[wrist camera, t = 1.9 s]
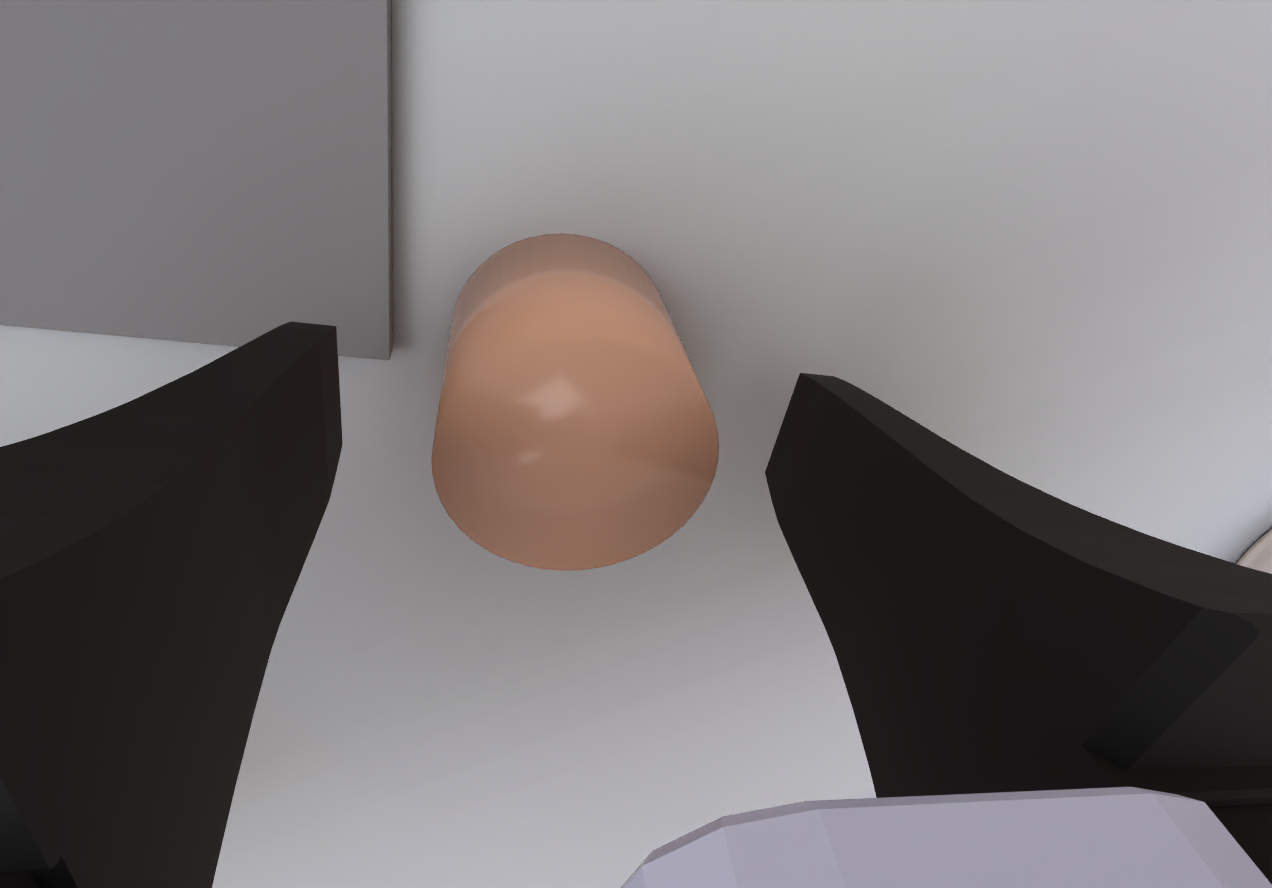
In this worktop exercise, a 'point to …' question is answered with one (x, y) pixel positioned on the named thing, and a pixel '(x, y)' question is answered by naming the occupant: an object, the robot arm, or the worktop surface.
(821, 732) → the worktop surface
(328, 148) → the slate mat
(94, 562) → the robot arm
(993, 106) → the worktop surface
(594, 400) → the peach rounded cylinder
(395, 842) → the worktop surface
